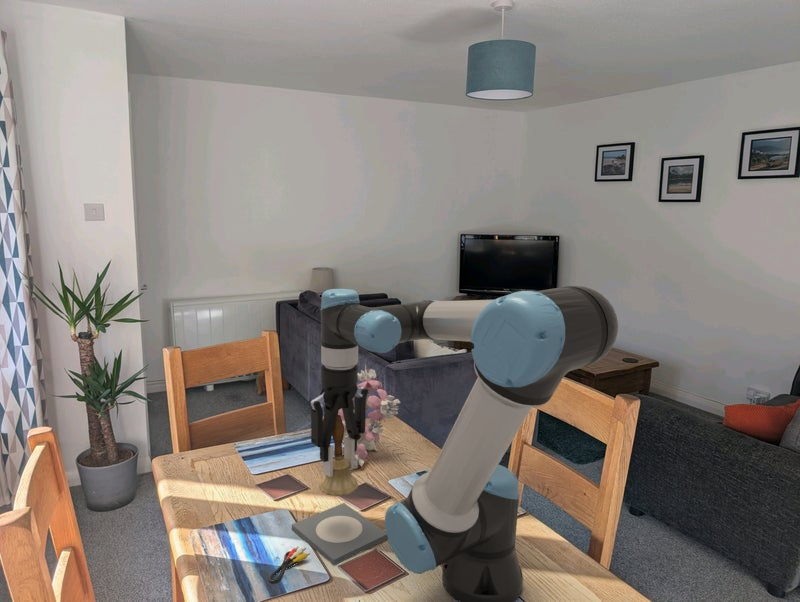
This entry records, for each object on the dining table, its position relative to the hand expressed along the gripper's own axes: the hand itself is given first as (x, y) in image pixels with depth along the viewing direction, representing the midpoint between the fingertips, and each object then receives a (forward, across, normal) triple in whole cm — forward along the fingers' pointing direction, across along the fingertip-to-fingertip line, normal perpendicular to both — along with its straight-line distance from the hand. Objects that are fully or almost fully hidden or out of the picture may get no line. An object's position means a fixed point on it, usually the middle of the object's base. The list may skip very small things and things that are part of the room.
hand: (338, 470), depth 120 cm
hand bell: (+4, 0, 0) cm, 4 cm away
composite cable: (+15, +15, +3) cm, 21 cm away
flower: (+15, -25, -26) cm, 39 cm away
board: (+15, 0, 0) cm, 15 cm away
